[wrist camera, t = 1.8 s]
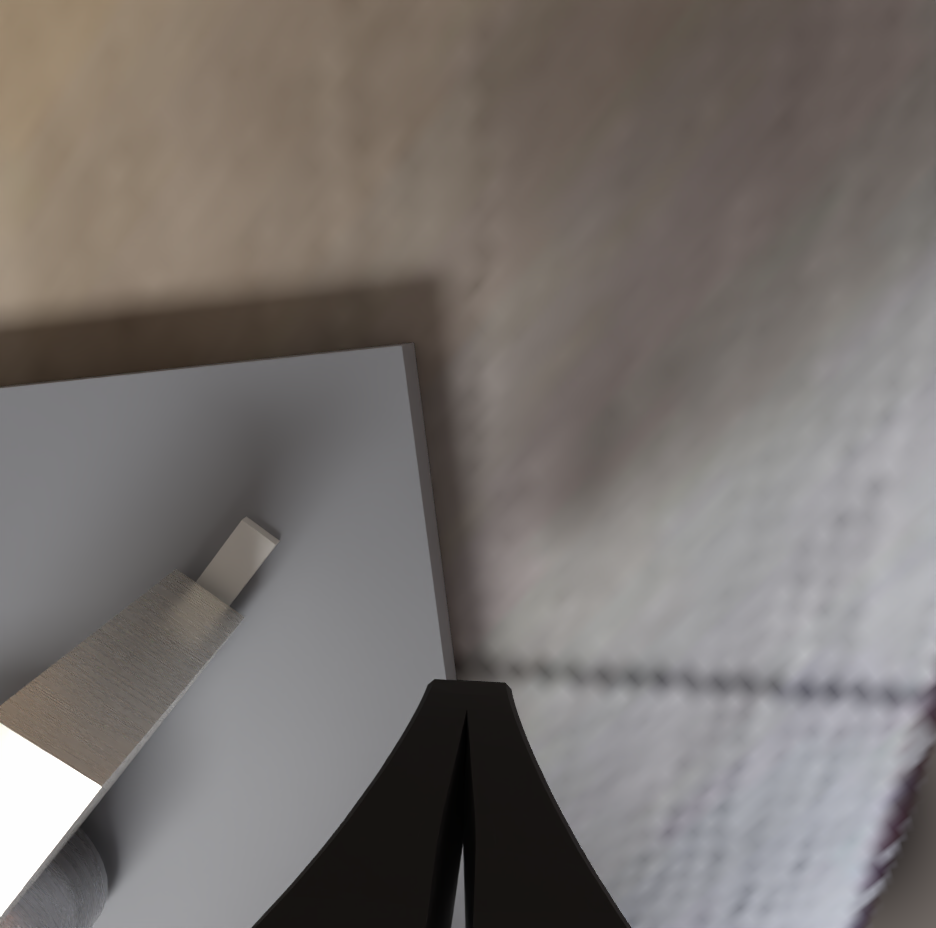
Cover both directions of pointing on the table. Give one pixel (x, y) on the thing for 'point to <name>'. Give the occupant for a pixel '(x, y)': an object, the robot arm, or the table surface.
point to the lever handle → (91, 745)
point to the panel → (233, 602)
